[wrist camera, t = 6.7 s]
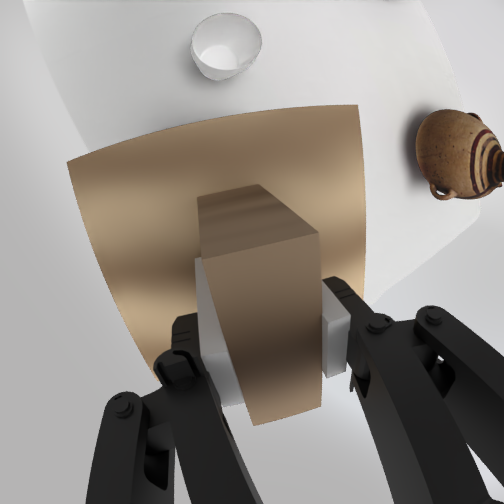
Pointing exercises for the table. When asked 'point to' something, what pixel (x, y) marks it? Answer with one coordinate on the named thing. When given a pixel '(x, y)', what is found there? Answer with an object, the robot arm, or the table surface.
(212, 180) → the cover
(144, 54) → the table surface
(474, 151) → the vase
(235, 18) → the cup
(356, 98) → the table surface
